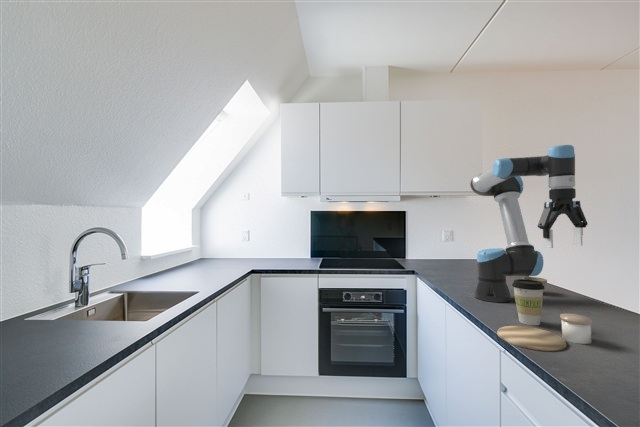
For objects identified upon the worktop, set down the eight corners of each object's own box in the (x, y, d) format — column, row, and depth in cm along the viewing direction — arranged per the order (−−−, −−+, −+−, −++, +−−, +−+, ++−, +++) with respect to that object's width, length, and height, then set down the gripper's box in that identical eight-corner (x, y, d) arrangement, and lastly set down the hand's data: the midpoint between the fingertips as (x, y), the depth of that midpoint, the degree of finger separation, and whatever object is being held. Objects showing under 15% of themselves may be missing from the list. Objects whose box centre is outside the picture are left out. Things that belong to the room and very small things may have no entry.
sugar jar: (554, 336, 96) (553, 314, 96) (574, 333, 98) (573, 312, 98) (579, 345, 89) (577, 322, 89) (599, 343, 90) (598, 320, 90)
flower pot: (527, 295, 145) (526, 280, 145) (520, 290, 154) (519, 276, 154) (551, 296, 141) (550, 281, 142) (543, 291, 151) (542, 277, 151)
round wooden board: (484, 330, 102) (484, 328, 102) (529, 325, 105) (529, 323, 105) (530, 354, 84) (530, 351, 84) (582, 347, 88) (582, 344, 88)
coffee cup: (507, 320, 111) (506, 280, 111) (522, 316, 115) (521, 277, 116) (536, 329, 102) (535, 285, 102) (551, 323, 107) (550, 282, 107)
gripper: (544, 188, 101) (546, 249, 102) (599, 186, 107) (600, 245, 107) (524, 189, 109) (526, 247, 109) (577, 188, 114) (578, 243, 115)
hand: (563, 246), depth 108 cm, fingers open, 13 cm apart
